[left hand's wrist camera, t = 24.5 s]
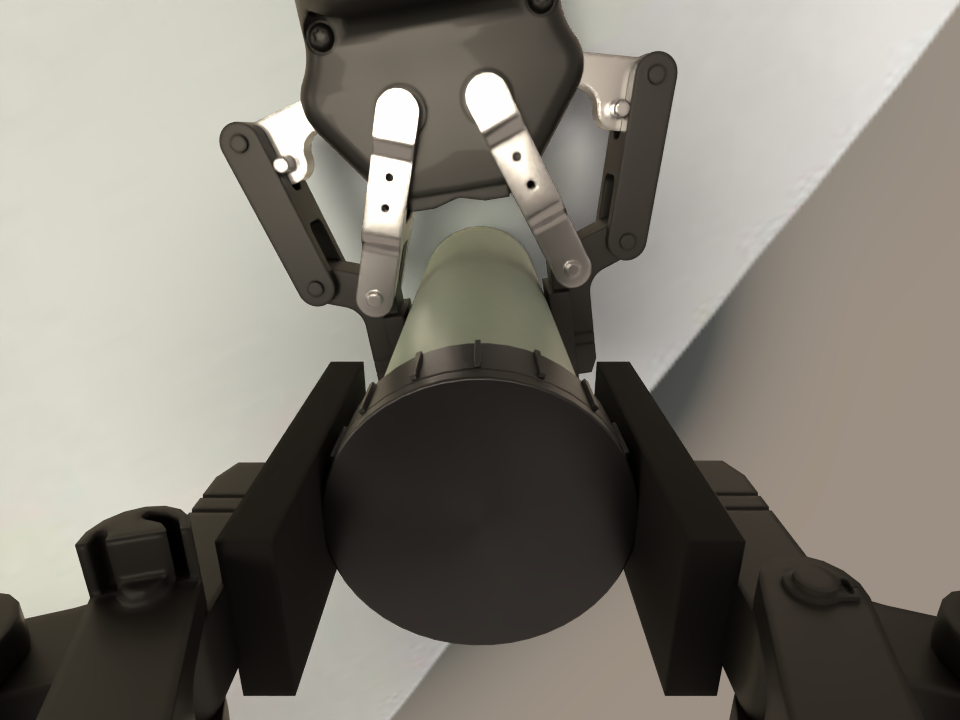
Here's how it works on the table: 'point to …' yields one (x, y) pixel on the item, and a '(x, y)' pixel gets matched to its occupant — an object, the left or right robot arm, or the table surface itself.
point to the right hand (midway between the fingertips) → (491, 391)
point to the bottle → (480, 300)
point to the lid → (480, 496)
